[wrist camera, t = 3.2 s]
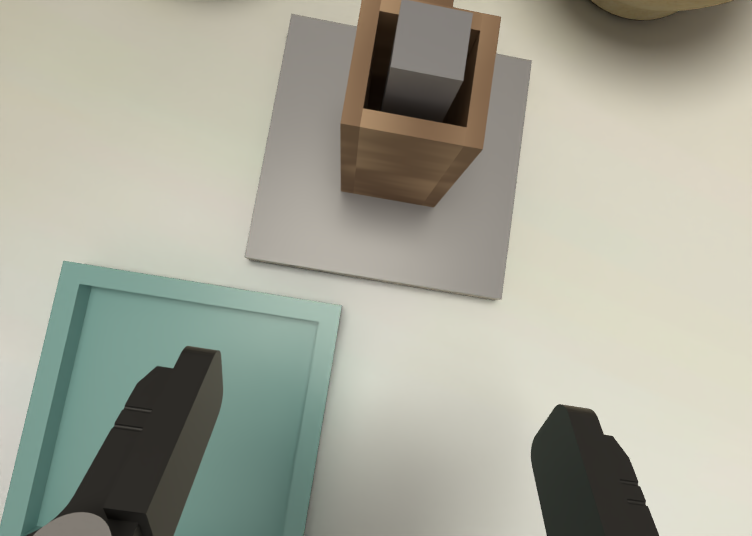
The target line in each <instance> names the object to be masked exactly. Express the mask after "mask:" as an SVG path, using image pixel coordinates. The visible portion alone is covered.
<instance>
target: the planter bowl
mask: <svg viewBox="0 0 752 536" xmlns="http://www.w3.org/2000/svg"><path fill="white" fill-rule="evenodd" d="M591 1H592V2H593V3H595V4H596V5H597V6H599V7H600V8H602V9H604V10H606V11H608V12H610V13H612V14H615V15H618V16H620V17H624V18H629V19H636V20H652V19H658V18H662V17H665V16H668V15H671V14H673V13H675V12H677V11H683V10H693V9H699V8H705V7H710V6H715V5H719V4H723V3H726V2H730V1H733V0H591Z"/></svg>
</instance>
